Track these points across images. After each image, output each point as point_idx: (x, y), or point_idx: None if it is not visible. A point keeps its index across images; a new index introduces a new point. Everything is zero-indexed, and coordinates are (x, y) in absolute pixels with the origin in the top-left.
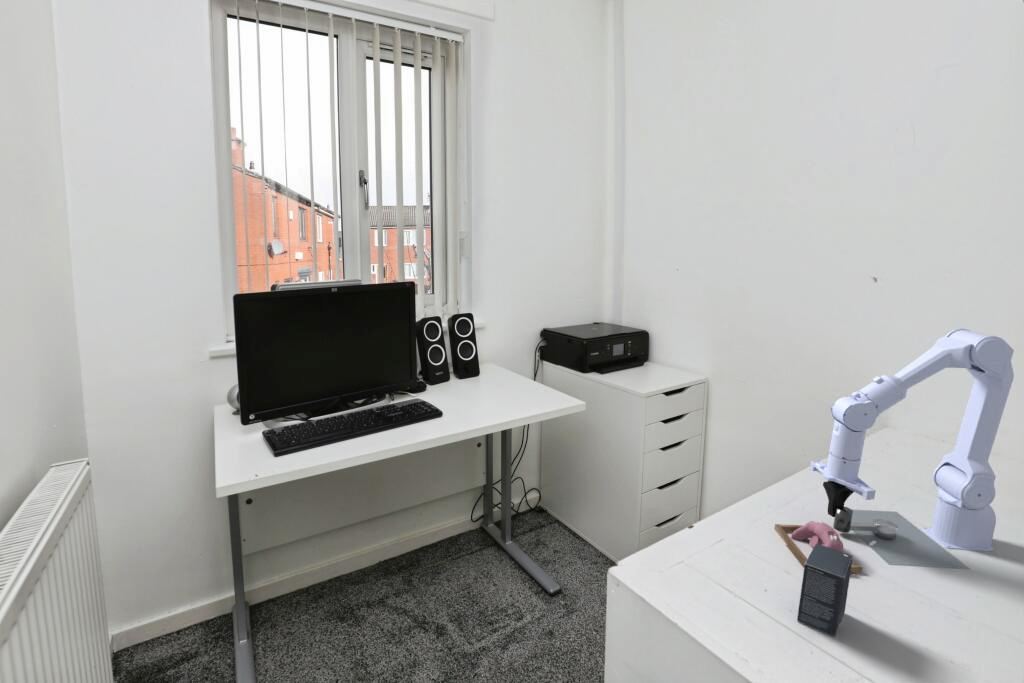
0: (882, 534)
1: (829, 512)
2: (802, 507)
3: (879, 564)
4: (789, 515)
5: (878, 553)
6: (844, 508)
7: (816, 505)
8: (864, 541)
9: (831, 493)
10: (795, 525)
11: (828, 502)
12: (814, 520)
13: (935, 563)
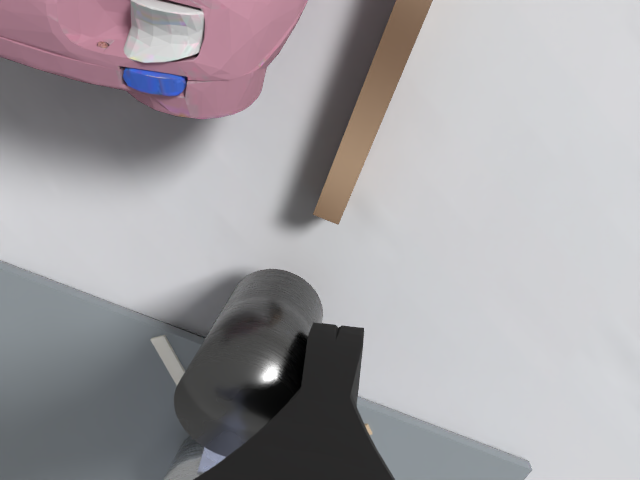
0: (188, 448)
1: (344, 334)
2: (635, 361)
3: (16, 234)
4: (609, 193)
5: (83, 305)
6: (250, 426)
7: (604, 448)
8: (194, 341)
9: (279, 466)
10: (416, 19)
11: (353, 386)
12: (184, 11)
13: (7, 442)
